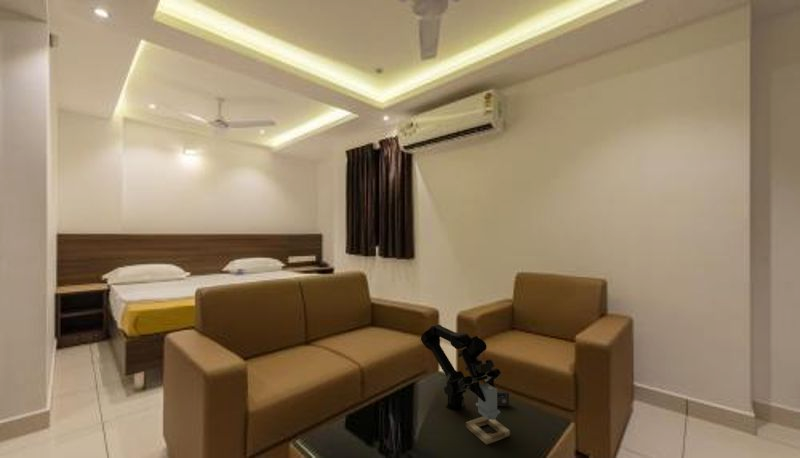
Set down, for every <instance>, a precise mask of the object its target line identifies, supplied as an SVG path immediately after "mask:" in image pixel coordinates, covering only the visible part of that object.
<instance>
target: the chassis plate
mask: <svg viewBox="0 0 800 458" xmlns="http://www.w3.org/2000/svg"><path fill="white" fill-rule="evenodd" d="M486 425H488V426H489V427H491V428H492V429H493V430H495V431H496V432H494V433H491V432H489V433H486V431H485V430H483V429H482V428H481V427H484V426H486ZM465 427H466V428H467V429H468V430H469V431H470V432H471V433H472V434H473V435H475V436H476V437H477V439H479V440H480V441H481V442H483V443H484V444H485V445H490V444H492V443H495V442H497V441H500V440H502V439H505V438H507V437H510V435H511V432H510V429H509V428H507V427H506V426H504V424H502V423H500V422H499V421H498V420H497V419H495V420H492V419H489V420H488V419H486V418H485V417H484V416H483V415H482V416H481V417H476V418H474V419H471V420H469V421H466V422H465Z"/></svg>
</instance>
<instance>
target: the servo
mask: <svg viewBox="0 0 800 458" xmlns="http://www.w3.org/2000/svg"><path fill="white" fill-rule="evenodd" d="M484 383H485V382H484ZM484 383H483V384H479V386H480V389H481V391H482V393H483V395H484V397H485V400H486V401H485V402H483V401H482V400H481V399H480V398H479V397H478V396H477V402H476V403H475V406H476V407H477V410H478V411H477V413H479V415H482V417H483V416H484V417H485V418H486V419H488V420H489V419H492V420H497V418H498V415H500V414H501V411H500V409H498V406H497V392H498V388H496V387H495V386H494V387H493V386H491V385H489V384H488V383H485V384H484Z"/></svg>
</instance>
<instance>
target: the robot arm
mask: <svg viewBox="0 0 800 458" xmlns="http://www.w3.org/2000/svg"><path fill="white" fill-rule="evenodd" d="M440 338H441V339H444V340H446V341H448V342H449V343H450V346H452V347H453V348H454V349H456V350H459V353H458V358H462V360H463V363H465V366H466V367H465V371H467V372H468V373H469V375H467V376H465V375H464V374H463V372H462V371H461V370H459V371H457V370H456V369H455V368H454V366H453V364H452V362H451V361H450V359H449V357H448V356H447V355H446V352H445V351H444V349H443V348H442V346H441V339H440ZM420 341H421V342H422V344H423V346H424V347H425V348H426V349H428V350H429V351H431V352H432V354H433V356H434V358H435V359H436V361H437V363H438V365H439V366H440V368H441V370H442V371H443V373H444V375H445V376H446V377H445V378H446V379H445V380H446V386H445V387H444V388H443V391H444V394H446V395H447V404H446V405H445V407H446V408H447V409H451V410H454V411H456V412H460V411H461V410H462V409H463V408H464V406H465V397H464V393H467V390H469V391H470V392H471V393H474V394H475V395H476V396H477V398H478V397H479V398H480V399H481V400H482V401H483V402H485V401H486V400H485V397H484V395H483V393H482V391H481V389H480V386H479V385H480V382H481V381H485V382H483V384H485V383H488V384H489V385H491V386H493V387H494V388H495V385H494V383H495V380H496V379H497V378H498V377H500V376H501V375H502V372H501V371H500V368H497V367H496V368H494V367H495V365H494V362H493V360H492V359H486V360H485V362H483V361H482V360H479V358H478V357H479V356H480V355H482V354H483V353H484V352H485V351H486V350H487V343H486V342H485V341H484V340H483V339H481V338H480V337H478V335H475V336H472V337H471V336H470V335H469V334H468V333H466V332H456V331H453V330H451V329H449V328H446V327H444V326H443V325H441V324H435V325H431V326H430V327H429V328H428V329H427V330H426V331H424V332H423V333H422V334H421V337H420ZM460 349H461V350H460Z"/></svg>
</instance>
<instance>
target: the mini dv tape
mask: <svg viewBox="0 0 800 458" xmlns="http://www.w3.org/2000/svg"><path fill="white" fill-rule="evenodd" d="M509 399H510V394H509V391H497V407H509V406H510V400H509Z"/></svg>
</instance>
